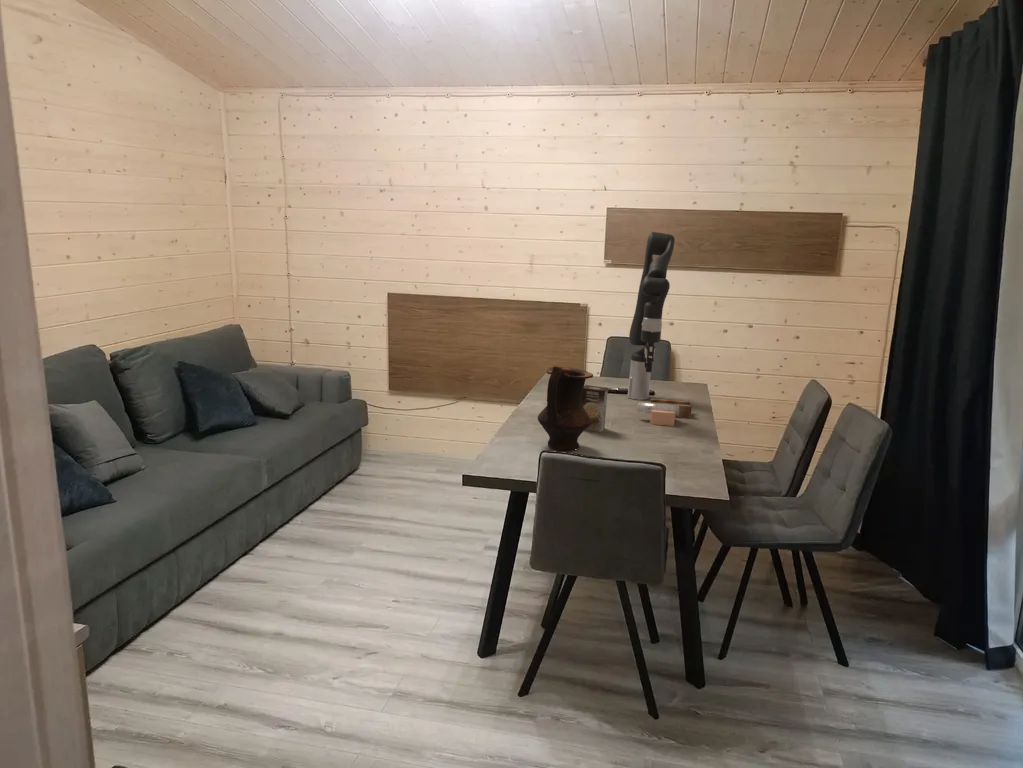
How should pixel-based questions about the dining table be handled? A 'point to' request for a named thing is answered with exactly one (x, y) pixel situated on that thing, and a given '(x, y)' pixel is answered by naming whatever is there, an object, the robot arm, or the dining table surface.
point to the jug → (565, 408)
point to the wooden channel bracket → (683, 406)
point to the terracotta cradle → (662, 417)
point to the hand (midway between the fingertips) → (647, 369)
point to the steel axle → (657, 407)
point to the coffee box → (595, 406)
